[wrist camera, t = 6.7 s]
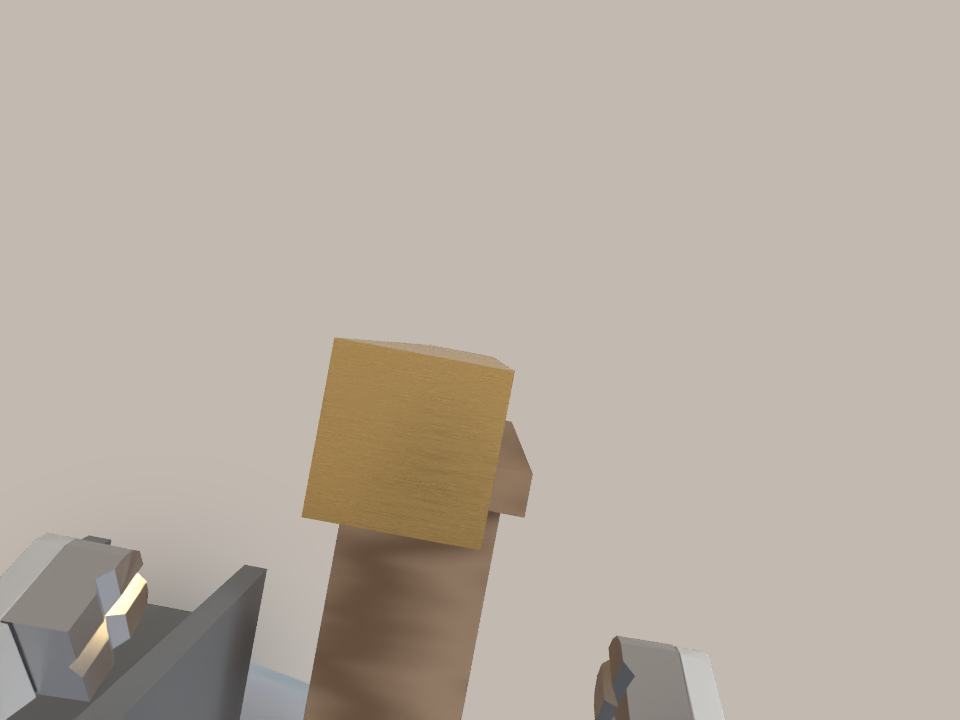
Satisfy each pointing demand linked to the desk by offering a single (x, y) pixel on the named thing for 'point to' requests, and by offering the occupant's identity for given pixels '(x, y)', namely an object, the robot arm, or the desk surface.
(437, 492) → the wooden block
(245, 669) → the cradle
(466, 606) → the stand
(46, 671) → the robot arm
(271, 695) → the desk surface
